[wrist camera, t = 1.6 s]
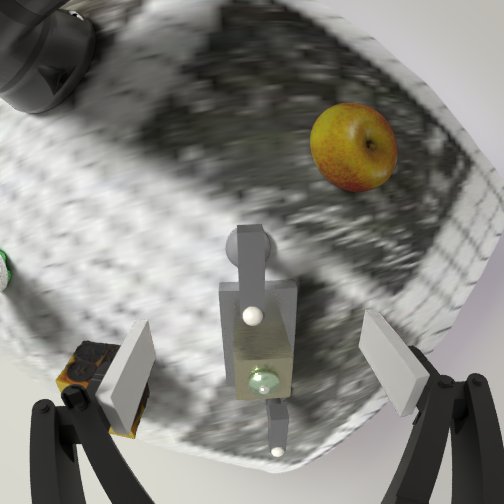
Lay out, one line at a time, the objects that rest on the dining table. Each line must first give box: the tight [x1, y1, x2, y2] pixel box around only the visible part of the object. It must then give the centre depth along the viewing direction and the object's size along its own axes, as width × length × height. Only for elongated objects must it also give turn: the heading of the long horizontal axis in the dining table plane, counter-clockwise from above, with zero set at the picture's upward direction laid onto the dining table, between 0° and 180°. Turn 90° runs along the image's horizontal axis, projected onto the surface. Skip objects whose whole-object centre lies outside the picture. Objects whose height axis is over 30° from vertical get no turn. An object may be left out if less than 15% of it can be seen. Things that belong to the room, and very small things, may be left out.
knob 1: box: [226, 224, 270, 326], centre depth 29 cm, size 8×5×10 cm, turn 1°
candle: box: [56, 341, 149, 439], centre depth 34 cm, size 10×10×10 cm
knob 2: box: [257, 397, 289, 457], centre depth 36 cm, size 8×5×10 cm, turn 1°
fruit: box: [310, 103, 397, 192], centre depth 27 cm, size 10×9×8 cm
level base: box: [219, 280, 297, 400], centre depth 32 cm, size 15×9×11 cm, turn 1°
